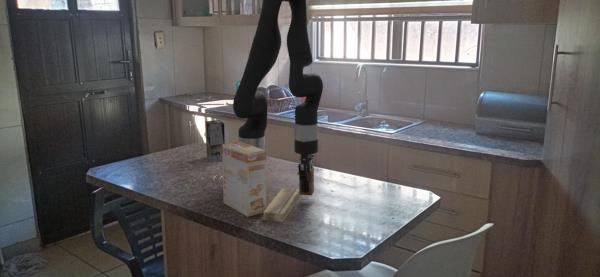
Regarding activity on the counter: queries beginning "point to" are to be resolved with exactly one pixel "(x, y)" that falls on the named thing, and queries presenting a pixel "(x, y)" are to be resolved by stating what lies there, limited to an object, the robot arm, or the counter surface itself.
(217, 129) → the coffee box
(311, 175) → the brown block with peg
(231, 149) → the coffeecake box
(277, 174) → the counter surface
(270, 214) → the board
